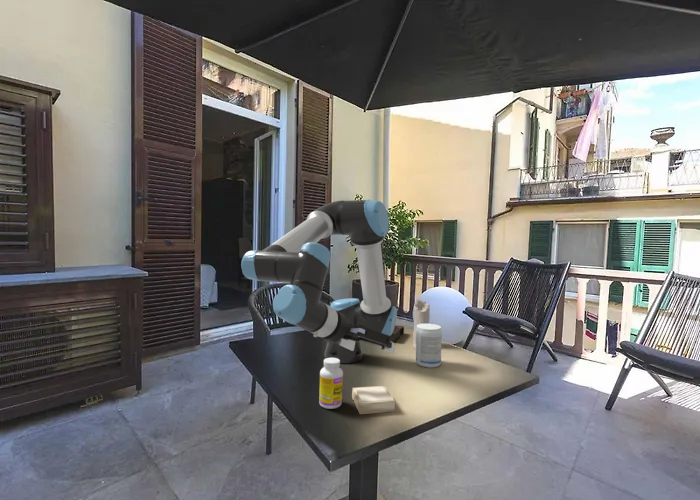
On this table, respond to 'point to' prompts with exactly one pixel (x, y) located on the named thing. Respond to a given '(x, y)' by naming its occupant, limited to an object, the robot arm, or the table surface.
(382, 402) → the birch plinth
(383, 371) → the table surface
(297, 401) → the table surface
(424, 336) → the supplement tub
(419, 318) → the candle
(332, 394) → the supplement bottle
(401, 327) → the diary
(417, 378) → the table surface
